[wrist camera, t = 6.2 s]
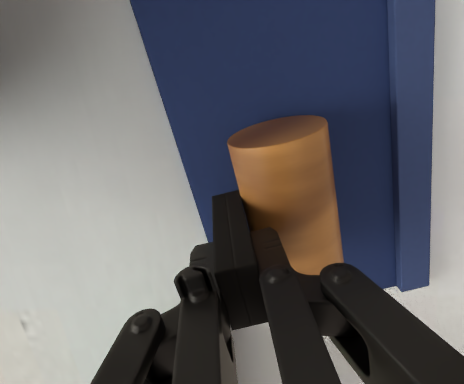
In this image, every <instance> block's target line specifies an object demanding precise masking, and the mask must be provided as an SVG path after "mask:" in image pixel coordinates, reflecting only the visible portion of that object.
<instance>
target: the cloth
mask: <svg viewBox="0 0 464 384" xmlns="http://www.w3.org/2000/svg"><path fill="white" fill-rule="evenodd" d="M130 2H131V6H132V9H133V12H134V15H135V18H136V21H137V24H138V27H139V30H140V33H141V36H142V39H143V42H144V46H145V49H146V52H147V55H148V58H149V61H150V64H151V67H152V70H153V73H154V76H155V79H156V82H157V86H158V89H159V92H160V95H161V98H162V101H163V104H164V107H165V110H166V113H167V116H168V119H169V123H170V126H171V129H172V132H173V135H174V138H175V141H176V144H177V147H178V150H179V153H180V156H181V159H182V163H183V166H184V169H185V172H186V175H187V178H188V181H189V184H190V187H191V190H192V193H193V196H194V199H195V203H196V206H197V209H198V212H199V215H200V218H201V221H202V224H203V227H204V230H205V233H206V236H207V240H208V243H210V242H213V223H212V196H215V195H219V194H223V193H227V192H231V191H235V190H239V188H238V184H237V180H236V176H235V172H234V168H233V165H232V161H231V157H230V153H229V149H228V145H227V141H228V139H229V138H230V137H231V136H232V135H233V134H235V133H236V132H238V131H240V130H242V129H244V128H247V127H249V126H252V125H255V124H258V123H261V122H265V121H268V120H273V119H277V118H283V117H289V116H298V115H314V116H320V117H323V118H325V119H326V120H327V122H328V130H329V139H330V147H331V156H332V164H333V173H334V182H335V190H336V199H337V207H338V216H339V224H340V233H341V242H342V250H343V259H344V263H346V264H351V265H352V266H354V267H356V268H358V269H359V270H360V271H361V272H362V273H364V274H365V275H366V276H367V277H368V278H370V279H371V280H372V281H373V282H374V283H376V284H377V285H378V286H379V287H380V288H382V289H385V288H389V287H393V286H397V287H398V288H399V289H400V291H401V292H404V291H408V290H413V289H417V288H421V287H425V286H429V267H430V221H431V174H432V128H433V81H434V34H435V0H130ZM244 212H245V211H244ZM245 216H246V215H245ZM246 220H247V219H246ZM247 224H248V223H247ZM248 228H249V227H248ZM249 232H250V231H249Z"/></svg>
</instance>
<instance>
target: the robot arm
mask: <svg viewBox="0 0 464 384" xmlns="http://www.w3.org/2000/svg"><path fill="white" fill-rule="evenodd" d="M212 223H213V242H210V243H206V244H201V245H197V246H195V247H194V249H193V251H192V252H191V254H190V265H189V267H187V268H185V269H183V270H182V271H180V272H179V273H178V274H177V276H176V277H175V279H174V283H175V286H176V288H177V291H178V293H179V296H180V298H181V302H180V304H178V305H177V306H176V307H174V308H173V309H171V310H169V311H167V312H165V313H163V314H161V315H160V313H159V312H158V311H157V310H155V309H145V310H141V311H139V312H137V313H135V314H134V315H133V316H132V317H130V318H129V319H128V320H127V322H126V323H125V324H124V326H123V328H122V330H121V331H120V333H119V335H118V337H117V338H116V340H115V342H114V344H113V345H112V347H111V349H110V351H109V352H108V354H107V356H106V358H105V359H104V361H103V363H102V365H101V366H100V368H99V370H98V372H97V373H96V375H95V377H94V379H93V380H92V382H91V384H238V380H237V370H236V359H235V349H234V341H233V338H232V335H231V330H230V325H231V328H232V330H236V329H240V328H245V327H249V326H253V325H257V324H262V323H266V322H269V327H270V331H271V335H272V340H273V344H274V349H275V353H276V357H277V362H278V366H279V371H280V375H281V379H282V384H341V382H340V379H339V377H338V374H337V372H336V370H335V367H334V365H333V362H332V360H331V357H330V355H329V352H328V350H327V348H326V345H325V343H324V340H323V338H322V336H329V337H330V339H331V341H332V342H333V343H334V345H335V346H336V347H337V348H338V350H339V351H340V352H341V354H342V355H343V356H344V357H345V359H346V360H347V361H348V363H349V364H350V365H351V366H352V368H353V369H354V370H355V372H356V373H357V374H358V376H359V377H360V378H361V379H362V381H363V382H364V383H365V384H464V356H463V355H461V354H460V353H459V352H458V351H457V350H455V349H454V348H453V347H452V346H451V345H449V344H448V343H447V342H446V341H445V340H443V339H442V338H441V337H440V336H438V335H437V334H436V333H435V332H434V331H432V330H431V329H430V328H429V327H428V326H426V325H425V324H424V323H423V322H422V321H420V320H419V319H418V318H417V317H416V316H414V315H413V314H412V313H411V312H409V311H408V310H407V309H406V308H405V307H403V306H402V305H401V304H400V303H399V302H397V301H396V300H395V299H394V298H393V297H391V296H390V295H389V294H388V293H387V292H385V291H384V290H383V289H382V288H380V287H379V286H378V285H377V284H376V283H374V282H373V281H372V280H371V279H370V278H368V277H367V276H366V275H365V274H364V273H362V272H361V271H360V270H359V269H358V268H356V267H354V266H352V265H351V264H346V263H333V264H330V265H327V266H326V267H324V268H323V269H322V270H321V272H320V275H305V274H301V273H299V272H297V271H295V270H294V269H293V268H292V267H291V265H290V263H289V260H288V258H287V255H286V253H285V250H284V248H283V245H282V243H281V240H280V238H279V235H278V233H277V231H275V230H274V229H273V228H271V227H268V228H264V229H260V230H256V231H252V232H249V228H248V224H247V220H246V216H245V212H244V208H243V204H242V200H241V196H240V192H239V190H235V191H231V192H227V193H223V194H219V195H215V196H212Z"/></svg>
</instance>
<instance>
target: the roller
mask: <svg viewBox="0 0 464 384" xmlns="http://www.w3.org/2000/svg"><path fill="white" fill-rule="evenodd" d="M227 145H228V149H229V153H230V157H231V161H232V165H233V168H234V172H235V176H236V180H237V184H238V188H239V192H240V196H241V200H242V204H243V208H244V211H245V215H246V219H247V223H248V227H249V231H250V232H252V231H256V230H260V229H264V228H268V227H271V228H273V229H274V230H275V231H277V233H278V235H279V238H280V240H281V243H282V245H283V248H284V250H285V253H286V255H287V258H288V260H289V263H290V265H291V267H292V268H293V269H294V270H295V271H297V272H299V273H301V274H305V275H320V272H321V270H322V269H323V268H324V267H326V266H327V265H330V264H333V263H344V259H343V250H342V242H341V233H340V224H339V216H338V207H337V199H336V190H335V182H334V173H333V164H332V156H331V147H330V139H329V130H328V122H327V120H326V119H325V118H323V117H320V116H314V115H298V116H289V117H283V118H277V119H273V120H268V121H265V122H261V123H258V124H255V125H252V126H249V127H247V128H244V129H242V130H240V131H238V132H236V133H235V134H233V135H232V136H231V137H230V138H229V139H228V141H227Z"/></svg>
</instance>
